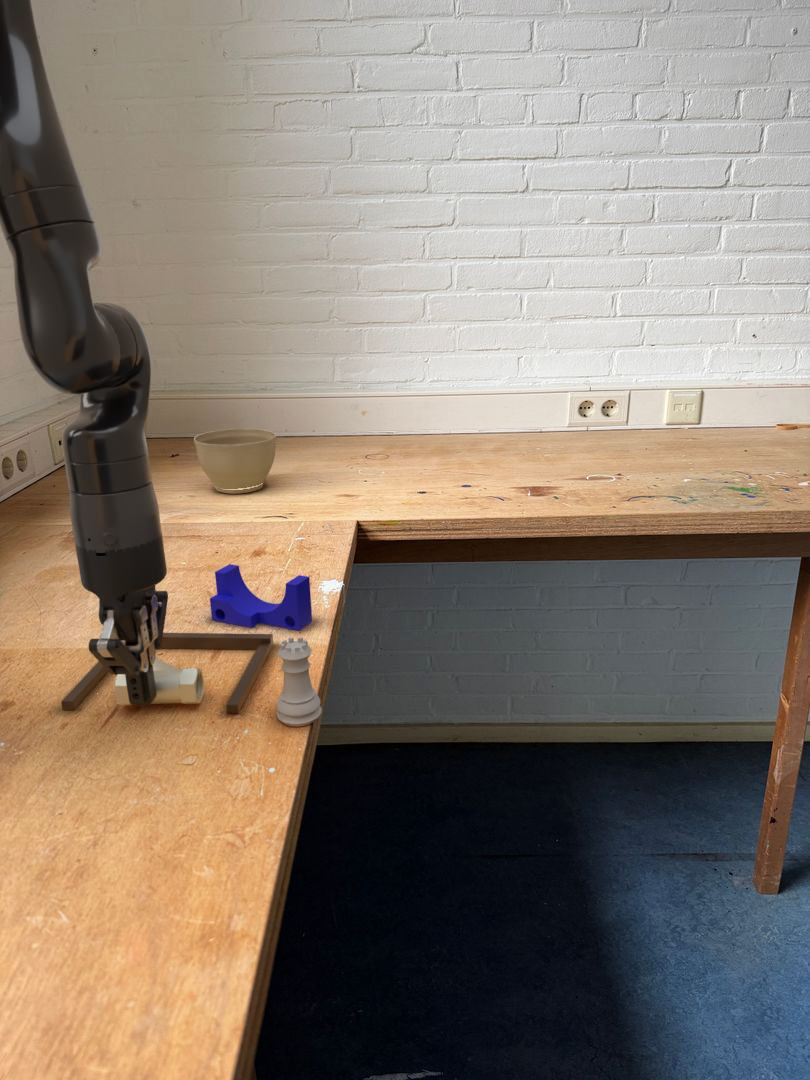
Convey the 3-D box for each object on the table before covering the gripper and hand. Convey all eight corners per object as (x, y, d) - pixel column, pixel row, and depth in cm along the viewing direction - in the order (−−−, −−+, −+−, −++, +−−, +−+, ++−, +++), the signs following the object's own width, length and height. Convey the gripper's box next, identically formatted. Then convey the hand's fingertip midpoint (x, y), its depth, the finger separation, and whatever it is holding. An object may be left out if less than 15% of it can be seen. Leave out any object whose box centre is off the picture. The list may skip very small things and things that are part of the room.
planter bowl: (219, 504, 152) (213, 447, 148) (187, 487, 164) (181, 435, 161) (294, 489, 160) (290, 436, 157) (258, 474, 173) (254, 425, 169)
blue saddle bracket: (212, 620, 101) (207, 576, 99) (233, 607, 105) (229, 564, 103) (292, 635, 96) (289, 589, 94) (312, 621, 100) (309, 576, 98)
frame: (62, 710, 81) (60, 696, 80) (123, 643, 95) (121, 631, 95) (238, 713, 79) (237, 700, 79) (273, 645, 94) (272, 633, 93)
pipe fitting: (138, 684, 86) (117, 713, 80) (134, 651, 85) (112, 676, 79) (212, 682, 86) (197, 711, 80) (209, 649, 85) (193, 675, 79)
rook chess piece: (331, 712, 79) (327, 639, 77) (301, 733, 76) (296, 657, 73) (297, 700, 82) (292, 628, 79) (267, 719, 78) (260, 646, 76)
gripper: (110, 512, 79) (134, 669, 84) (41, 557, 66) (74, 738, 72) (184, 512, 78) (203, 670, 84) (127, 557, 66) (154, 740, 71)
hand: (143, 701), depth 78 cm, fingers closed
